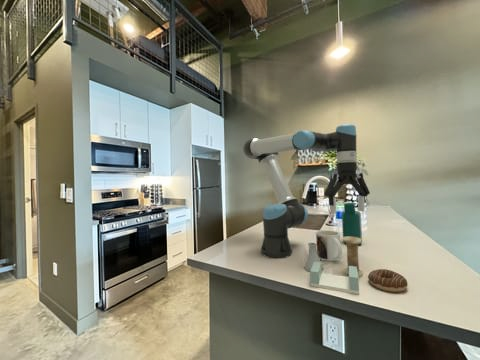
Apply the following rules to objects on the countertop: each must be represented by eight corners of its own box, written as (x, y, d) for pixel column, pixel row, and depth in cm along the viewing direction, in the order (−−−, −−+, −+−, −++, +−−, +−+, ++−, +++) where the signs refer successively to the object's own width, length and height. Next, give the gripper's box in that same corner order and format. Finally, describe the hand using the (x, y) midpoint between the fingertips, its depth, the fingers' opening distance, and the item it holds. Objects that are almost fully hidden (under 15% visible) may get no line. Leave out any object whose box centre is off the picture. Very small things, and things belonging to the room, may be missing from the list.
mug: (342, 254, 97) (341, 230, 97) (342, 264, 86) (341, 237, 86) (317, 252, 102) (316, 229, 102) (315, 261, 91) (314, 235, 91)
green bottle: (345, 240, 119) (343, 201, 120) (362, 242, 114) (360, 201, 115) (342, 244, 111) (340, 203, 112) (360, 247, 106) (358, 203, 107)
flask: (325, 273, 79) (323, 246, 79) (305, 272, 81) (303, 246, 81) (321, 265, 87) (320, 241, 87) (303, 264, 88) (302, 240, 88)
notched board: (311, 286, 70) (310, 271, 70) (314, 274, 78) (313, 261, 78) (359, 294, 64) (358, 278, 64) (357, 281, 72) (356, 266, 72)
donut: (417, 293, 64) (416, 279, 64) (384, 296, 63) (384, 282, 63) (389, 277, 74) (389, 265, 75) (361, 279, 74) (360, 268, 74)
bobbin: (344, 275, 77) (342, 240, 77) (344, 269, 82) (342, 235, 82) (363, 278, 74) (361, 241, 74) (362, 271, 79) (360, 237, 79)
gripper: (325, 161, 82) (326, 215, 83) (379, 161, 88) (379, 211, 88) (314, 163, 90) (316, 212, 90) (364, 162, 95) (365, 209, 95)
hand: (347, 212), depth 89 cm, fingers open, 13 cm apart
